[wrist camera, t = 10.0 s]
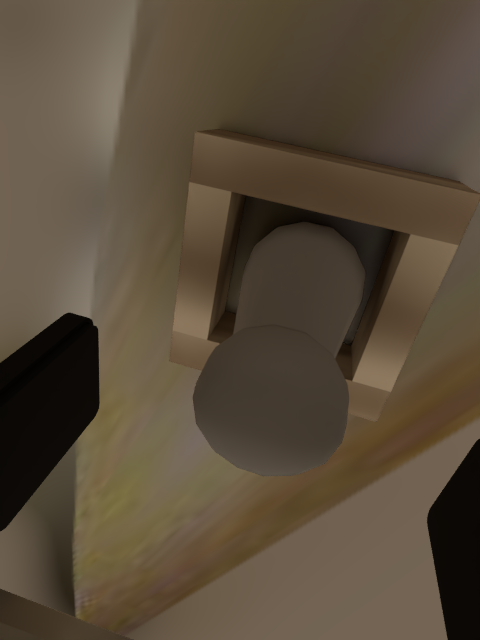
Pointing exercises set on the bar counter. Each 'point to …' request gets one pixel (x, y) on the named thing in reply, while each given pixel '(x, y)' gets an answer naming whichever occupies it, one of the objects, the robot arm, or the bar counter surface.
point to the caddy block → (328, 198)
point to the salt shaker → (284, 355)
